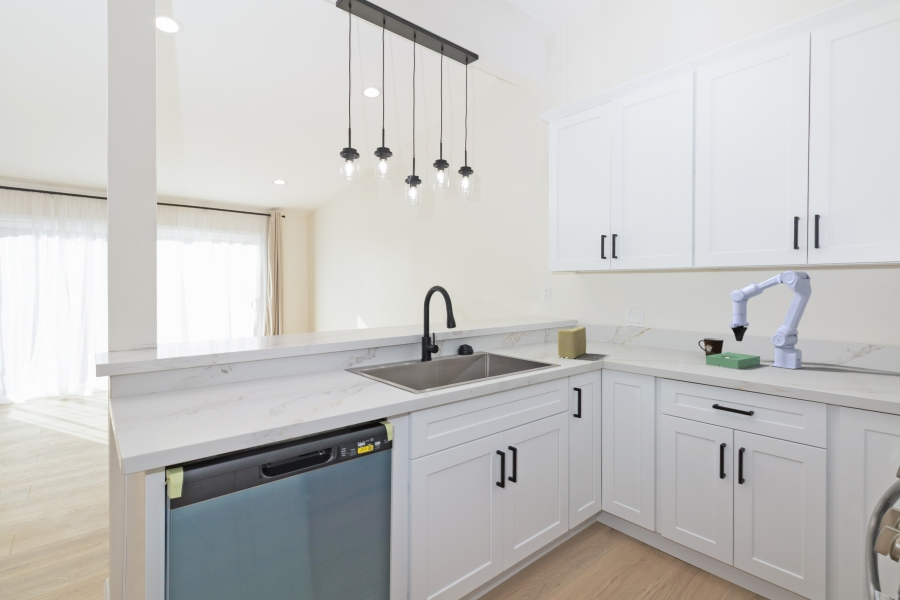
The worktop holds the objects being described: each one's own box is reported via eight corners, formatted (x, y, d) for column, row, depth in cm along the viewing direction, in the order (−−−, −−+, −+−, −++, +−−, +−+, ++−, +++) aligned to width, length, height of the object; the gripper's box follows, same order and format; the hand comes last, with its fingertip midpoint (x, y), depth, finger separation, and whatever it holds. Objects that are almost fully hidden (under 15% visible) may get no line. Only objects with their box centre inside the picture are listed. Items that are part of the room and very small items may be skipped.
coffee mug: (727, 359, 213) (727, 340, 212) (709, 359, 213) (710, 340, 212) (713, 356, 224) (713, 337, 224) (696, 356, 224) (697, 337, 224)
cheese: (576, 352, 239) (576, 326, 239) (593, 354, 233) (593, 327, 232) (557, 357, 223) (557, 329, 223) (574, 359, 216) (574, 330, 216)
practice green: (728, 360, 212) (728, 352, 211) (759, 364, 199) (760, 356, 199) (705, 364, 201) (706, 355, 201) (737, 369, 189) (738, 360, 189)
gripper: (738, 313, 219) (737, 339, 220) (723, 314, 212) (722, 341, 212) (753, 313, 213) (753, 340, 214) (738, 315, 206) (738, 342, 206)
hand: (739, 341), depth 213 cm, fingers closed
